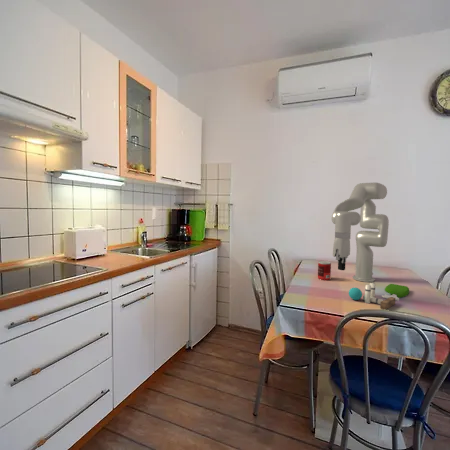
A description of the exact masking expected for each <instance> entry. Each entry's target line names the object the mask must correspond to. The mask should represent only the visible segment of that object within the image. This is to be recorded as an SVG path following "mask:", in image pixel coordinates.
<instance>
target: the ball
mask: <svg viewBox="0 0 450 450" xmlns="http://www.w3.org/2000/svg"><path fill="white" fill-rule="evenodd" d="M348 296H349V297H350V298H351V300H354V301H357V300H358V301H359V300H361V298H363V292H362V290H361V289H360V288H358V287H352V288H350V289H349V290H348Z"/></svg>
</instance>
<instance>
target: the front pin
mask: <svg viewBox="0 0 450 450" xmlns="http://www.w3.org/2000/svg"><path fill="white" fill-rule="evenodd" d="M362 299H363V301H365V294H364V295H362ZM384 300H385V299H381V298H378V297H375V298H374V297H371V299H370V303H374V304H377V305H381V302H382V301H384Z"/></svg>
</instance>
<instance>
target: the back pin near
mask: <svg viewBox="0 0 450 450" xmlns="http://www.w3.org/2000/svg"><path fill="white" fill-rule="evenodd" d="M364 287H365V290H364V291H365V292H364V295H365V300H364V303H365V304H370V303H371V302H370V299H371V285H370V284H365V286H364Z"/></svg>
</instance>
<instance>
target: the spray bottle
mask: <svg viewBox="0 0 450 450" xmlns="http://www.w3.org/2000/svg"><path fill="white" fill-rule="evenodd" d="M384 291H385V292H386V293H388V294H389V295H388V294H386V293H385V294H384V295H382V294H381V298H384V299H385V300H386V299H388V298H389V297H393V298H395V301H397V302H400V299H401V298H403V297H406V296H408V295H409V294H410V288H409V287H408V286H407V285H401V284H400V285H399V284H395V283H389V284H388V285H386V286H385V288H384Z"/></svg>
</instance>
